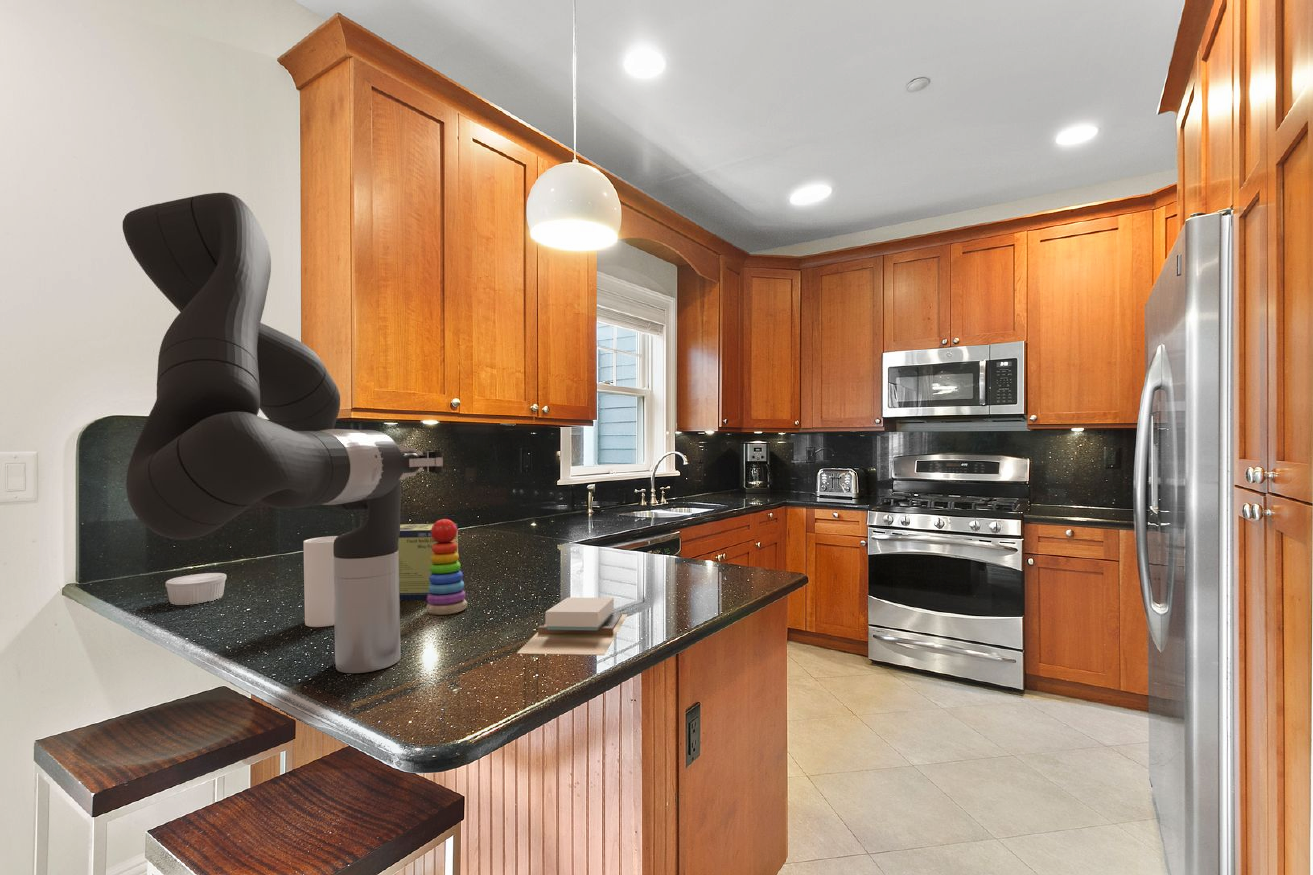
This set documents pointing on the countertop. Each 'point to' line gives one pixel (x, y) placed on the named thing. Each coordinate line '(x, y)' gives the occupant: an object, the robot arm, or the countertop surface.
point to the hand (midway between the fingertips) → (428, 460)
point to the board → (574, 639)
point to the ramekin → (196, 588)
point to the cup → (319, 581)
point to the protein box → (416, 560)
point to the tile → (579, 614)
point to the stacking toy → (445, 572)
